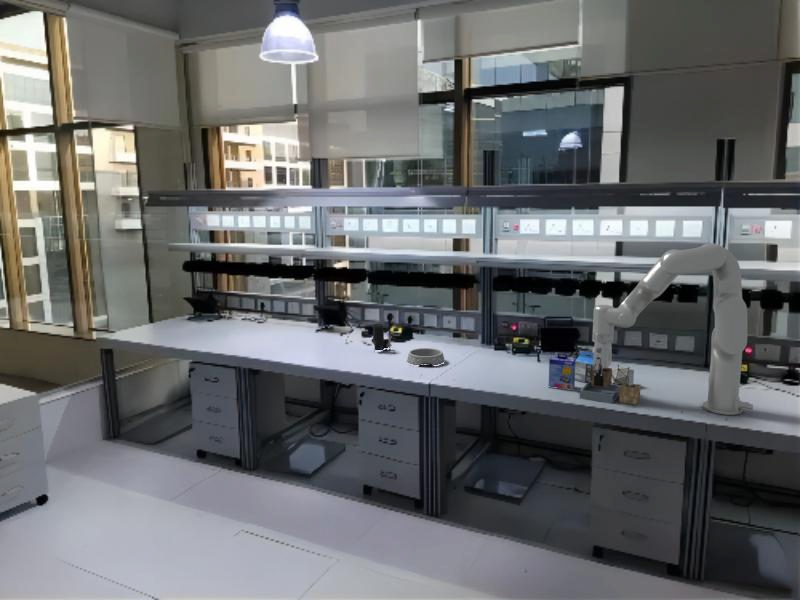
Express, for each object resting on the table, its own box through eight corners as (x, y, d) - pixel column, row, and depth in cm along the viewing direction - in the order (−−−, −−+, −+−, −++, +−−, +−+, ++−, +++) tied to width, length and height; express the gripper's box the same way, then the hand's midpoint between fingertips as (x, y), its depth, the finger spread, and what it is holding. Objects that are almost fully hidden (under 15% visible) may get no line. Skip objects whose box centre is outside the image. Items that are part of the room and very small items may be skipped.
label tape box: (572, 380, 245) (573, 351, 243) (578, 378, 248) (579, 350, 246) (591, 384, 238) (592, 355, 237) (596, 382, 241) (598, 353, 239)
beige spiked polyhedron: (616, 392, 240) (609, 369, 244) (637, 387, 236) (630, 364, 241) (611, 387, 233) (605, 364, 237) (633, 381, 229) (626, 358, 234)
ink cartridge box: (547, 388, 235) (548, 353, 232) (549, 384, 240) (550, 350, 237) (573, 390, 231) (574, 355, 229) (574, 386, 236) (576, 352, 234)
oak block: (639, 400, 219) (640, 384, 218) (636, 404, 214) (637, 389, 213) (622, 397, 222) (623, 382, 221) (619, 402, 217) (620, 386, 216)
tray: (620, 393, 227) (620, 385, 227) (612, 403, 215) (612, 395, 215) (589, 388, 233) (589, 381, 233) (579, 398, 222) (579, 390, 221)
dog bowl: (446, 367, 267) (446, 356, 266) (406, 367, 268) (406, 356, 267) (444, 358, 284) (444, 347, 283) (406, 358, 284) (406, 347, 284)
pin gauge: (632, 400, 218) (634, 369, 216) (631, 402, 216) (633, 371, 215) (627, 399, 219) (628, 369, 217) (626, 401, 218) (627, 370, 216)
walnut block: (611, 383, 224) (612, 368, 223) (607, 387, 219) (608, 372, 218) (595, 381, 228) (596, 366, 227) (591, 385, 223) (592, 370, 222)
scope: (391, 323, 298) (380, 327, 290) (391, 349, 301) (381, 354, 292) (378, 322, 303) (367, 325, 294) (378, 348, 305) (367, 352, 296)
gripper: (607, 343, 212) (605, 390, 214) (618, 334, 226) (615, 379, 229) (586, 341, 216) (584, 387, 218) (598, 332, 230) (596, 376, 233)
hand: (600, 382), depth 224 cm, fingers closed on walnut block, 6 cm apart
